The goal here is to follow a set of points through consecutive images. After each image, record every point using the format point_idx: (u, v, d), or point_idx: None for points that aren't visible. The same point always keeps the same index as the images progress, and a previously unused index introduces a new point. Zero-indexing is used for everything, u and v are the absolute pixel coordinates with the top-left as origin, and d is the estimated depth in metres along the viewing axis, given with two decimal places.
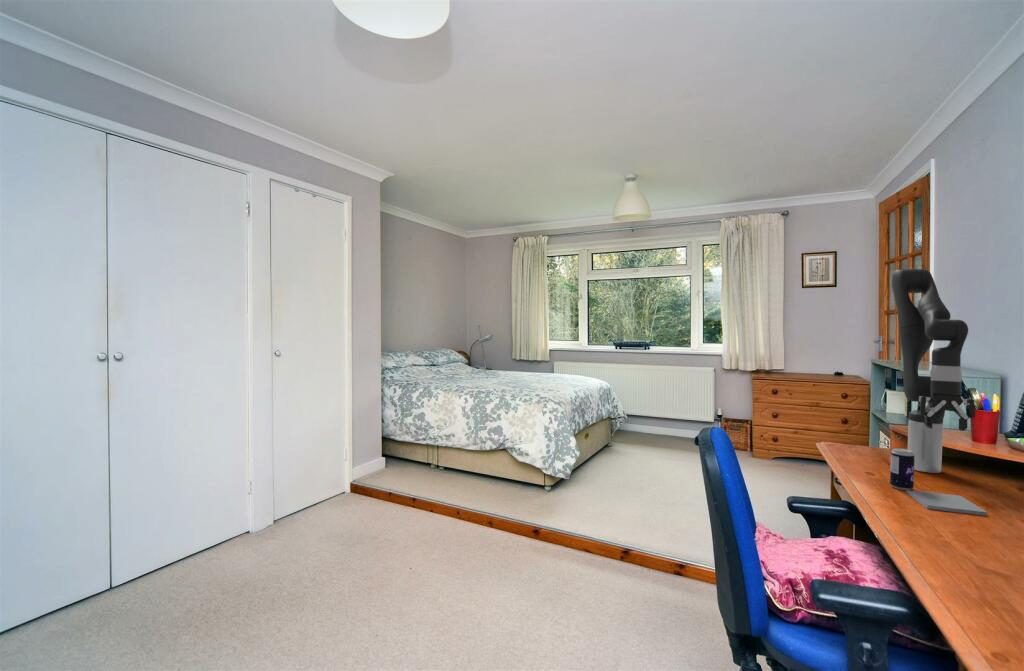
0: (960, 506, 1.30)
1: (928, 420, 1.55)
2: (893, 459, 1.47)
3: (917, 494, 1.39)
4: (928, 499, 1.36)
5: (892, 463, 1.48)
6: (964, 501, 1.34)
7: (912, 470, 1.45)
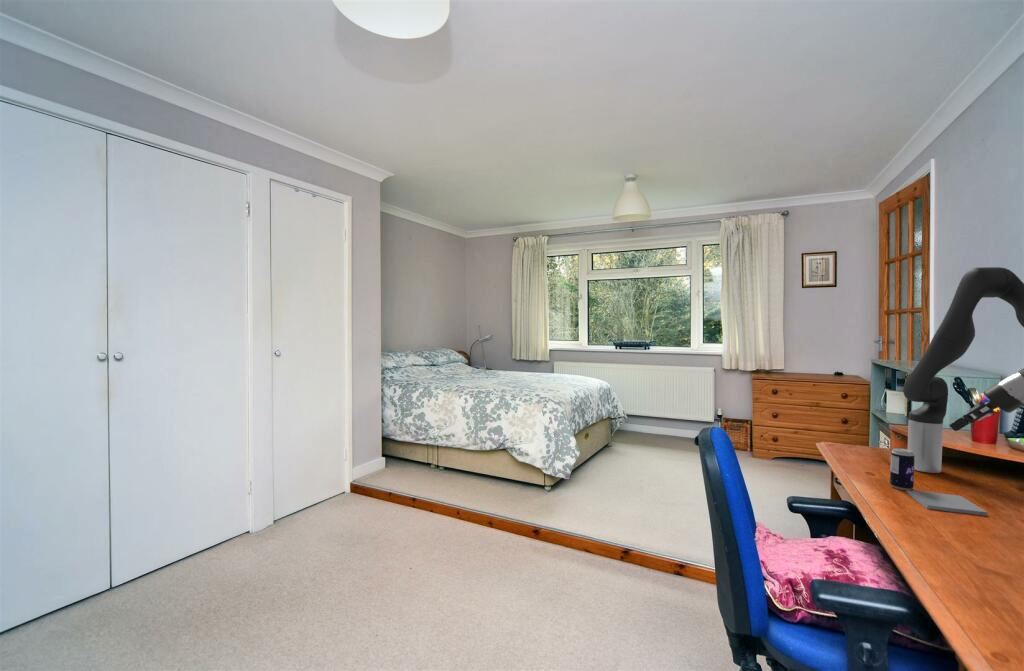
0: (960, 506, 1.30)
1: (963, 425, 1.33)
2: (893, 459, 1.47)
3: (917, 494, 1.39)
4: (928, 499, 1.36)
5: (892, 463, 1.48)
6: (964, 501, 1.34)
7: (912, 470, 1.45)
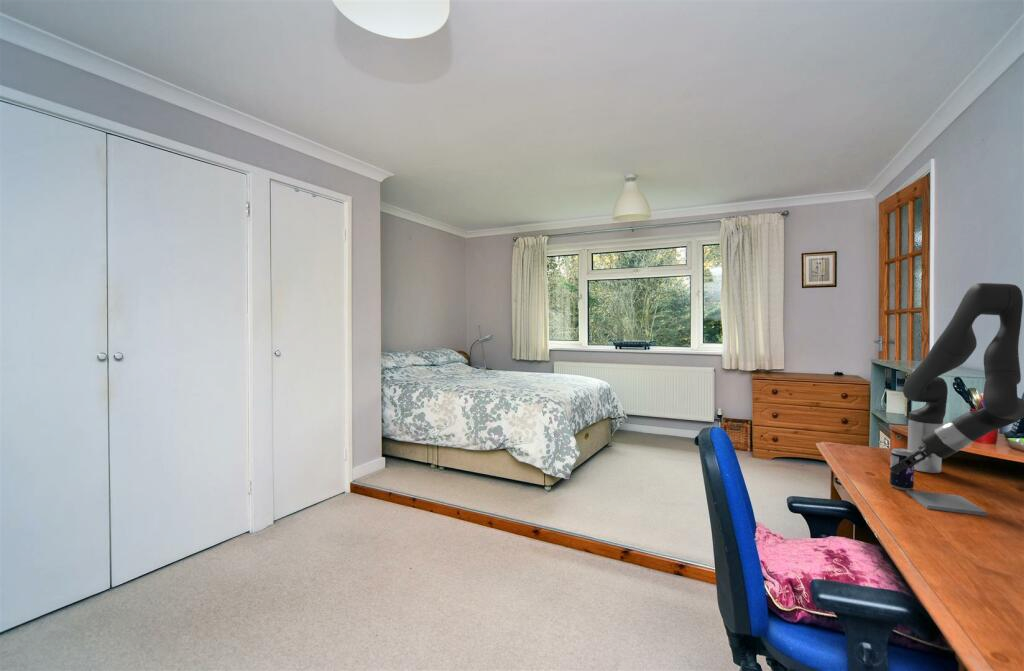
0: (960, 506, 1.30)
1: (901, 469, 1.45)
2: (893, 459, 1.47)
3: (917, 494, 1.39)
4: (928, 499, 1.36)
5: (892, 463, 1.48)
6: (964, 501, 1.34)
7: (912, 470, 1.45)
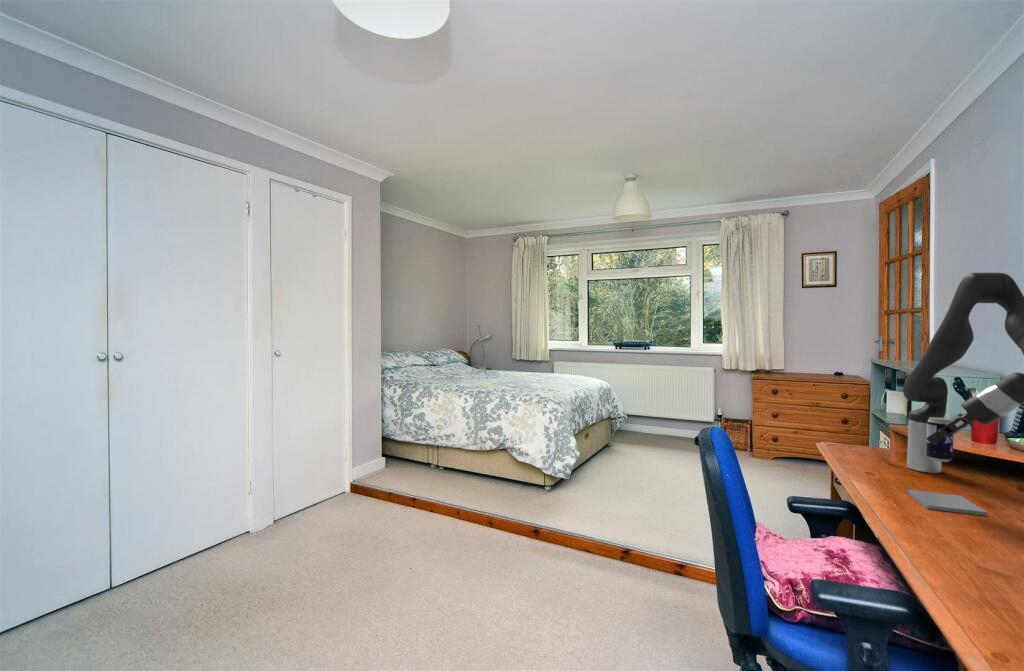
0: (960, 506, 1.30)
1: (940, 438, 1.33)
2: (930, 428, 1.36)
3: (917, 494, 1.39)
4: (928, 499, 1.36)
5: (929, 433, 1.36)
6: (964, 501, 1.34)
7: (951, 440, 1.33)
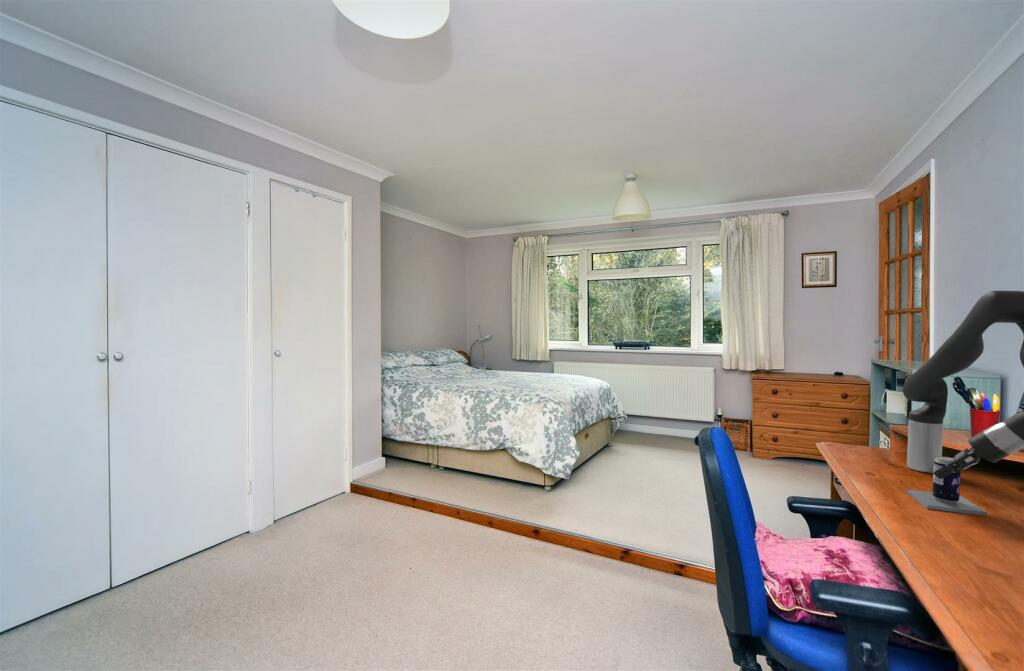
0: (960, 506, 1.30)
1: (947, 474, 1.31)
2: (937, 469, 1.34)
3: (917, 494, 1.39)
4: (928, 499, 1.36)
5: None
6: (964, 501, 1.34)
7: (958, 481, 1.32)
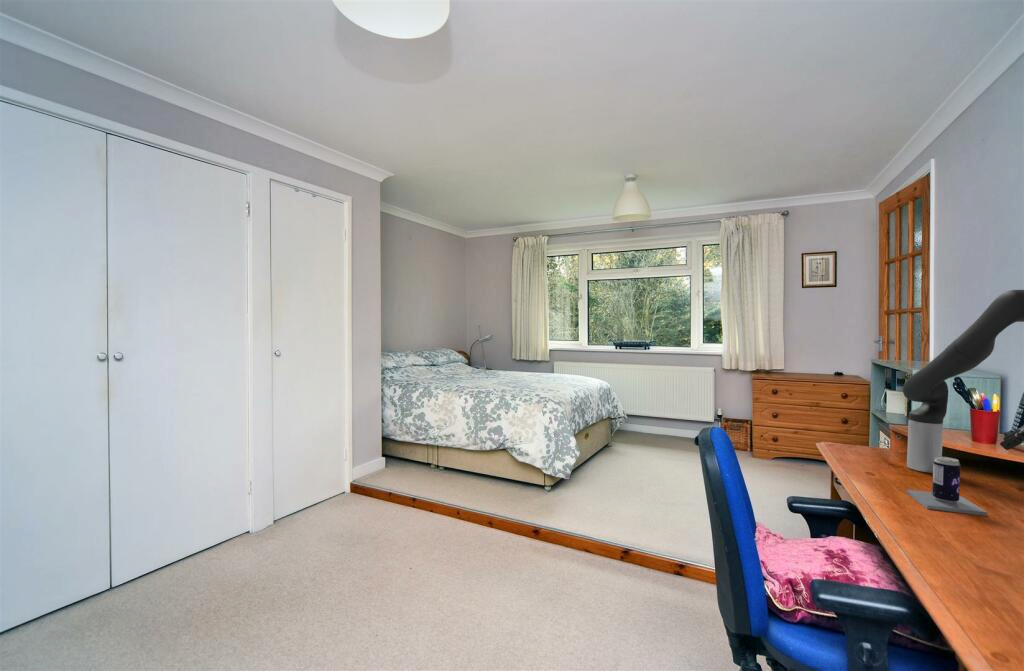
0: (960, 506, 1.30)
1: (1016, 444, 1.21)
2: (936, 469, 1.34)
3: (917, 494, 1.39)
4: (928, 499, 1.36)
5: (935, 473, 1.35)
6: (964, 501, 1.34)
7: (958, 481, 1.32)
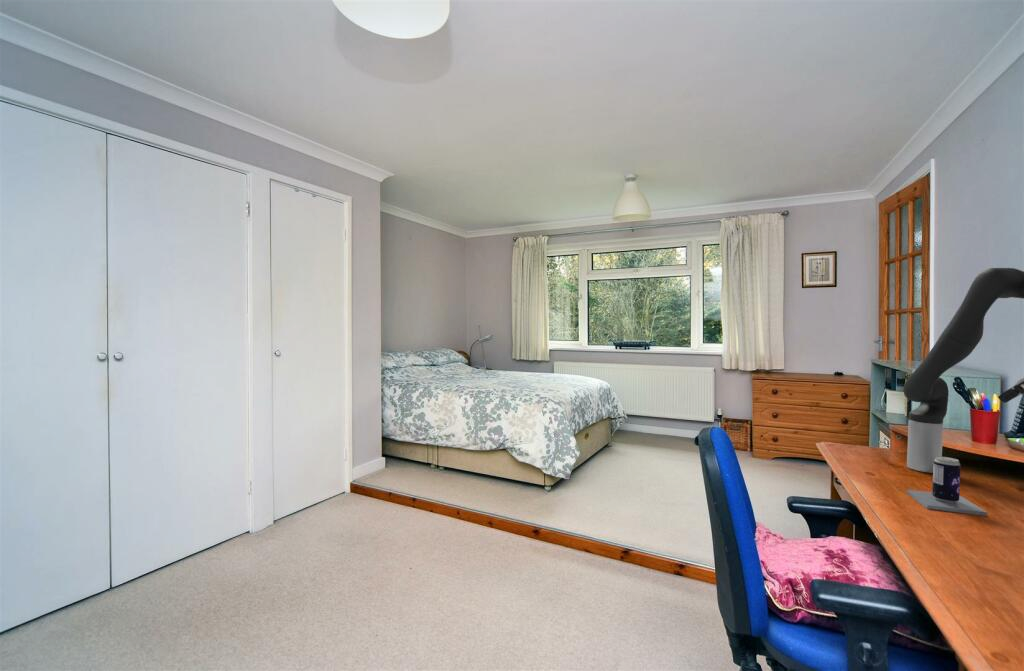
0: (960, 506, 1.30)
1: (1013, 396, 1.28)
2: (937, 469, 1.34)
3: (917, 494, 1.39)
4: (928, 499, 1.36)
5: (935, 473, 1.35)
6: (964, 501, 1.34)
7: (958, 481, 1.32)
